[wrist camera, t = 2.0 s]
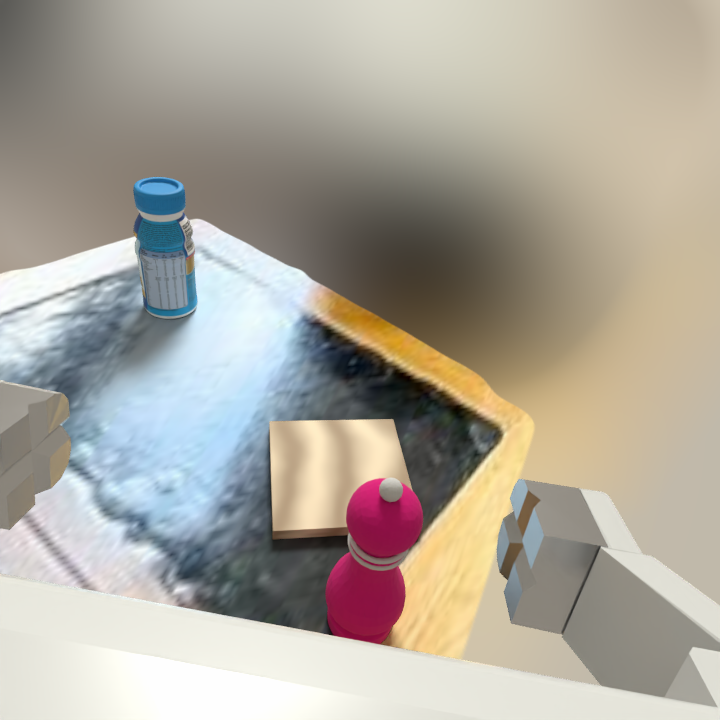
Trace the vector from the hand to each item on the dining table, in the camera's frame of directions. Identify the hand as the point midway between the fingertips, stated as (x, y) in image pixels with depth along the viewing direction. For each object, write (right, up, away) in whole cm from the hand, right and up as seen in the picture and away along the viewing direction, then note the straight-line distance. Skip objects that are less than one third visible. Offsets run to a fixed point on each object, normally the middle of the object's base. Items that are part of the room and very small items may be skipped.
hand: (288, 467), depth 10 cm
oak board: (-1, -12, +56) cm, 57 cm away
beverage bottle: (-29, +10, +79) cm, 85 cm away
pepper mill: (+1, -23, +43) cm, 49 cm away
